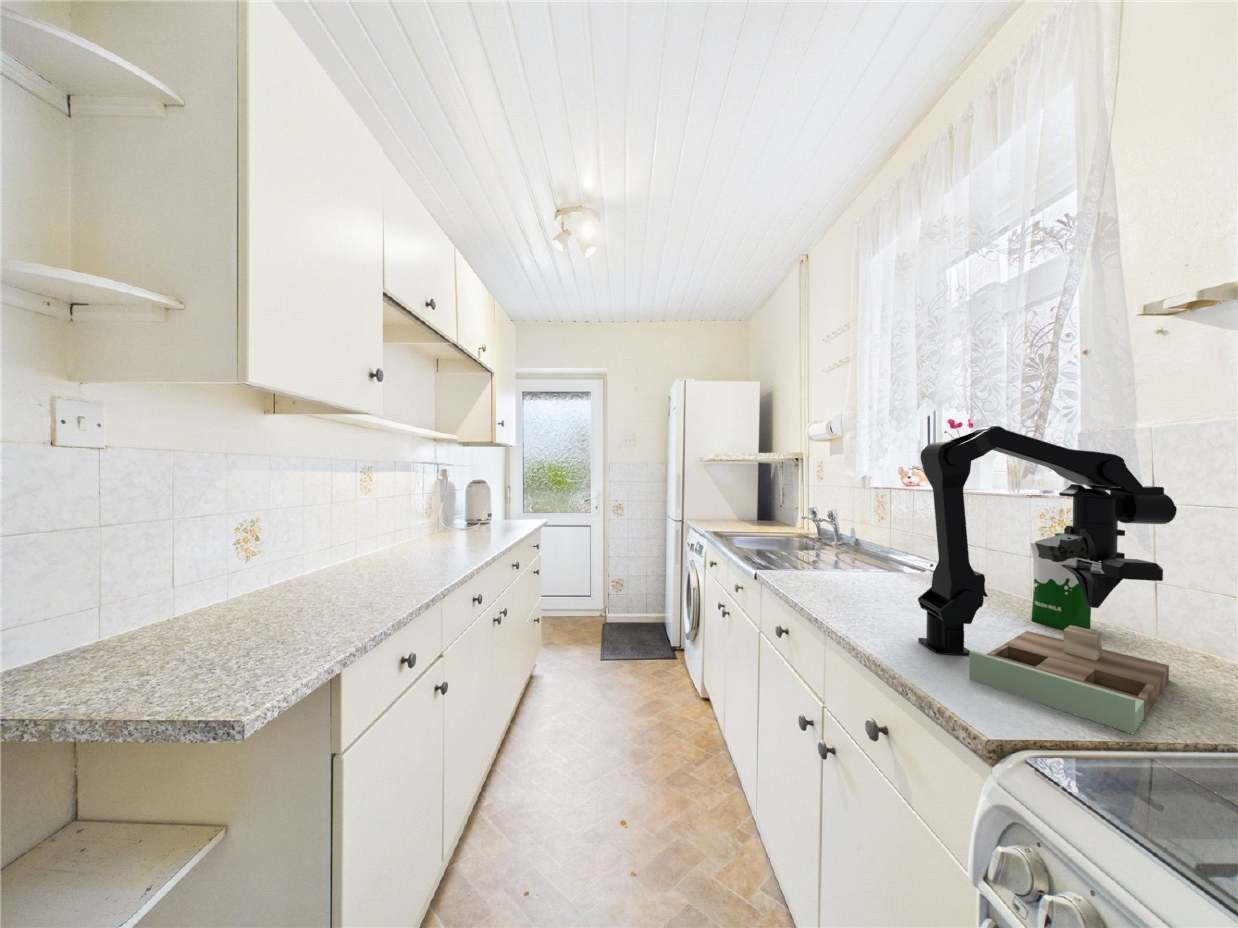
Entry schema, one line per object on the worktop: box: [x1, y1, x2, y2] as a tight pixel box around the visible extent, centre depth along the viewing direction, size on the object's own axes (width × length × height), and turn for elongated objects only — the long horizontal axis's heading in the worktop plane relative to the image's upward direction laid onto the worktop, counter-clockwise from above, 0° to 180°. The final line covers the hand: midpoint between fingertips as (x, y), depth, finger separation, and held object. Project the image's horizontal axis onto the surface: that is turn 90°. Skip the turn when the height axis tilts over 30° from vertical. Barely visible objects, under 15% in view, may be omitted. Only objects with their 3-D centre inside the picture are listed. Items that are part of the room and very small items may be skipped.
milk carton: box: [1029, 532, 1092, 631], centre depth 101 cm, size 9×9×20 cm
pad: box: [968, 650, 1145, 734], centre depth 69 cm, size 7×18×4 cm, turn 33°
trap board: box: [985, 630, 1170, 718], centre depth 76 cm, size 21×18×2 cm
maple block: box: [1063, 625, 1103, 661], centre depth 79 cm, size 4×4×4 cm
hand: (1093, 607), depth 83 cm, fingers closed
